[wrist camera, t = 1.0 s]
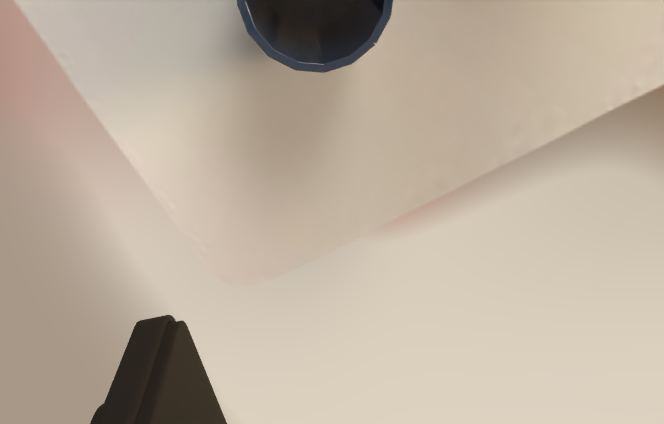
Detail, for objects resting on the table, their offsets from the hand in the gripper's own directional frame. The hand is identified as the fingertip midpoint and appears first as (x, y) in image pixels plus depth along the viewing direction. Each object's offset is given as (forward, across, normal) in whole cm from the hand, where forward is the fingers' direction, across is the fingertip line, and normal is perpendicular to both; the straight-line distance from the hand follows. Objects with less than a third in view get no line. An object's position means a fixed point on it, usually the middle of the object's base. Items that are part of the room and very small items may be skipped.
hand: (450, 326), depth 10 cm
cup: (+28, +1, -4) cm, 29 cm away
